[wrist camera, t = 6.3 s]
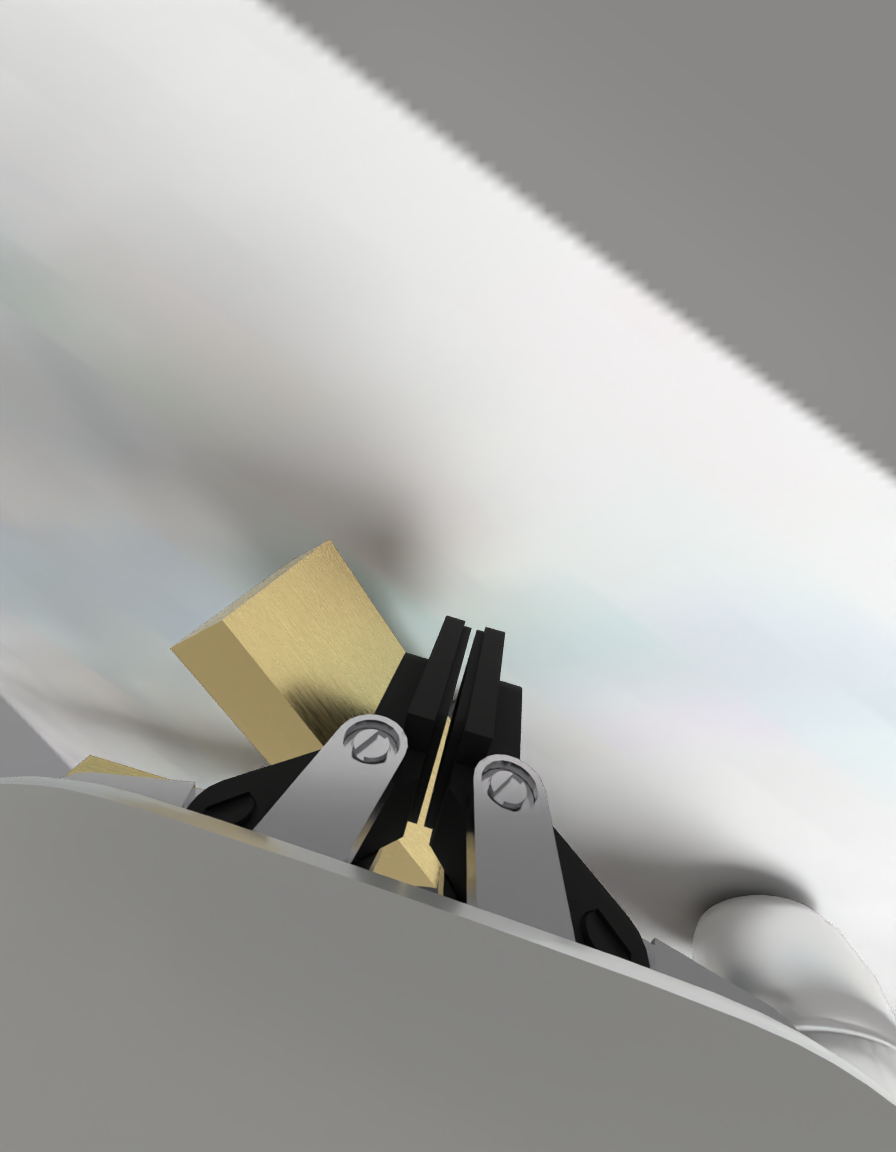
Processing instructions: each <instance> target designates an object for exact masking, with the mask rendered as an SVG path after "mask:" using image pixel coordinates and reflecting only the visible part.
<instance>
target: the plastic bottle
mask: <svg viewBox="0 0 896 1152" xmlns="http://www.w3.org/2000/svg"><path fill="white" fill-rule="evenodd" d="M692 952H693V959H694V961H695V962H697V963H698V964H700V965H702V966H704V967H705V968H707V969H709V970H710V971H712V972H714V973H716V974H717V975H719V976H721V977H722V978H724V979H726V980H727V981H729V982H731V983H733V984H734V985H736V986H738V987H739V988H741V989H743V990H745V991H746V992H748V993H750V994H751V995H753V996H755V997H757V998H758V999H760V1000H762V1001H763V1002H765V1003H767V1004H768V1005H770V1006H771V1007H773V1008H774V1009H775V1010H777V1011H778V1012H779V1013H781V1014H782V1015H783V1016H784V1017H786V1018H787V1019H788V1020H789V1021H790V1022H791V1023H792V1025H793V1026H794V1027H795V1028H796V1029H797V1030H798V1031H799V1032H800V1033H801V1034H803V1035H805V1036H807V1037H808V1038H810V1039H811V1040H813V1041H815V1042H816V1043H818V1044H820V1045H821V1046H823V1047H824V1048H826V1049H828V1050H829V1051H831V1052H833V1053H834V1054H836V1055H837V1056H839V1057H841V1058H842V1059H844V1060H846V1061H847V1062H849V1063H850V1064H851V1065H853V1066H854V1067H855V1068H857V1069H858V1070H859V1071H861V1072H862V1073H864V1074H865V1075H866V1076H868V1077H869V1078H870V1079H872V1080H873V1081H874V1082H876V1083H877V1084H878V1085H880V1086H881V1087H882V1088H884V1089H885V1090H886V1091H888V1092H889V1093H890V1094H892V1095H893V1096H894V1097H896V1019H895V1017H894V1015H893V1013H892V1011H891V1008H890V1006H889V1004H888V1002H887V1000H886V998H885V996H884V994H883V992H882V990H881V988H880V986H879V984H878V981H877V979H876V977H875V976H874V975H873V973H872V972H871V971H870V969H869V968H868V967H867V965H866V964H865V963H864V962H863V960H862V959H861V958H860V956H859V955H858V954H857V952H856V951H855V950H854V949H853V947H852V946H851V945H850V943H849V942H848V941H847V939H846V938H845V937H844V936H843V934H842V933H841V932H840V931H839V929H837V928H836V927H835V926H833V925H832V924H831V923H830V922H828V921H827V920H825V919H824V918H823V917H821V916H820V915H819V914H817V913H816V912H814V911H813V910H812V909H810V908H809V907H807V906H805V905H803V904H801V903H799V902H796V901H793V900H790V899H787V898H782V897H777V896H768V895H748V896H741V897H735V898H732V899H728V900H725V901H722V902H720V903H718V904H716V905H714V906H712V907H711V908H709V909H708V910H707V911H706V912H705V913H704V914H703V915H702V916H701V917H700V919H699V921H698V923H697V927H696V930H695V934H694V937H693V942H692Z"/></svg>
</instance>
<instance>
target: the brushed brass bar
mask: <svg viewBox="0 0 896 1152" xmlns="http://www.w3.org/2000/svg"><path fill="white" fill-rule="evenodd" d="M170 649H171V650H172V651H173V652H174V653H175V655H176V656H177V657H178V658H179V659H180V660H181V662H182V663H183V664H184V665H185V666H186V667H187V669H188V670H189V671H190V672H191V673H192V674H193V676H194V677H195V678H196V679H197V680H198V681H199V682H200V684H201V685H202V686H203V687H204V688H205V689H206V691H207V692H208V693H209V694H210V695H211V696H212V698H213V699H214V700H215V701H216V702H217V703H218V705H219V706H220V707H221V708H222V709H223V710H224V712H225V713H226V714H227V715H228V716H229V717H230V718H231V720H232V721H233V722H234V723H235V724H236V725H237V727H238V728H239V729H240V730H241V731H242V732H243V734H244V735H245V736H246V737H247V738H248V739H249V741H250V742H251V743H252V744H253V745H254V746H255V748H256V749H257V750H258V751H259V752H260V753H261V754H262V756H263V757H264V758H265V759H266V760H267V761H268V763H269V764H270V765H273V764H276V763H280V762H283V761H286V760H289V759H292V758H295V757H298V756H301V755H305V754H308V753H311V752H314V751H317V750H320V749H322V748H323V747H324V745H325V744H326V743H327V742H328V741H329V740H330V738H331V737H332V736H333V735H334V734H335V732H336V731H337V730H338V729H339V728H340V727H341V726H342V725H343V724H344V723H345V722H346V721H348V720H349V719H352V718H354V717H356V716H360V715H366V714H372V715H374V713H375V711H376V709H377V707H378V705H379V703H380V701H381V699H382V697H383V695H384V693H385V691H386V689H387V687H388V685H389V683H390V681H391V679H392V677H393V675H394V673H395V671H396V669H397V667H398V665H399V663H400V662H401V660H402V658H403V656H404V654H405V653H406V652H405V651H404V649H403V648H402V646H401V645H400V643H399V642H398V640H397V639H396V637H395V636H394V634H393V633H392V631H391V630H390V628H389V627H388V625H387V624H386V622H385V621H384V619H383V618H382V616H381V615H380V613H379V612H378V611H377V609H376V608H375V606H374V605H373V603H372V602H371V600H370V599H369V597H368V596H367V594H366V593H365V591H364V590H363V588H362V587H361V585H360V584H359V582H358V581H357V579H356V578H355V576H354V575H353V573H352V572H351V570H350V569H349V567H348V566H347V564H346V563H345V561H344V560H343V558H342V557H341V555H340V554H339V552H338V551H337V549H336V548H335V546H334V545H333V543H332V542H331V540H330V539H329V540H327V541H325V542H324V543H322V544H320V545H318V546H317V547H315V548H313V549H311V550H310V551H308V552H306V553H304V554H303V555H301V556H299V557H297V558H295V559H294V560H292V561H290V562H289V563H288V564H286V565H285V566H283V567H282V568H281V569H279V570H278V571H276V572H275V573H274V574H272V575H271V576H270V577H268V578H267V579H265V580H264V581H263V582H261V583H260V584H258V585H257V586H256V587H254V588H253V589H252V590H250V591H249V592H247V593H246V594H245V595H243V596H242V597H240V598H239V599H238V600H236V601H235V602H234V603H232V604H231V605H229V606H228V607H227V608H225V609H224V610H222V611H221V612H220V613H218V614H217V615H216V616H214V617H213V618H211V619H210V620H209V621H207V622H206V623H204V624H203V625H202V626H200V627H199V628H198V629H196V630H195V631H193V632H192V633H191V634H189V635H188V636H186V637H185V638H184V639H182V640H181V641H180V642H178V643H177V644H175V645H174V646H173V647H171V648H170ZM455 703H456V700H455V701H453V702H451V706H450V710H449V714H448V717H447V721H446V725H445V728H444V732H443V735H442V739H441V742H440V746H439V749H438V753H437V756H436V760H435V763H434V767H433V770H432V774H431V777H430V781H429V784H428V787H427V791H426V794H425V798H424V801H423V805H422V808H421V812H420V815H419V819H418V822H417V824H415V823H412V822H409V821H408V822H407V826H406V829H405V833H404V836H403V837H402V838H400V839H398V840H396V841H394V842H392V843H390V844H388V845H386V846H384V847H383V849H382V852H381V855H380V858H379V860H378V862H377V864H376V866H375V868H374V870H373V872H375V873H378V874H381V875H384V876H387V877H390V878H393V879H395V880H398V881H401V882H404V883H407V884H410V885H413V886H416V887H419V888H422V889H425V890H427V891H430V892H433V893H436V894H438V884H439V874H440V869H441V864H440V862H439V860H438V859H437V857H436V855H435V853H434V852H433V850H432V848H431V846H429V842H430V838H431V833H432V829H430V828H427V827H424V823H425V819H426V815H427V811H428V807H429V803H430V799H431V795H432V792H433V788H434V784H435V780H436V776H437V772H438V768H439V764H440V760H441V756H442V752H443V748H444V744H445V741H446V737H447V733H448V729H449V725H450V721H451V717H452V713H453V710H454V706H455Z"/></svg>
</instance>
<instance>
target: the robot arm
mask: <svg viewBox="0 0 896 1152" xmlns="http://www.w3.org/2000/svg"><path fill="white" fill-rule="evenodd" d="M464 624H465V621H464V620H460V619H457V618H453V617H450V616H446V618H445V620H444V623H443V625H442V628H441V630H440V633H439V635H438V638H437V640H436V643H435V645H434V648H433V650H432V653H431V655H430V658H429V659H426V658H422V657H419V656H416V655H412V654H409V653H405V654H404V656H403V658H402V660H401V662H400V663H399V665H398V667H397V669H396V671H395V673H394V675H393V677H392V679H391V681H390V683H389V685H388V687H387V689H386V691H385V693H384V695H383V697H382V699H381V701H380V703H379V705H378V707H377V709H376V711H375V713H374V715H372V714H366V715H360V716H356V717H354V718H352V719H349V720H348V721H346V722H345V723H344V724H343V725H342V726H341V727H340V728H339V729H338V730H337V731H336V732H335V734H334V735H333V736H332V737H331V738H330V740H329V741H328V742H327V743H326V744H325V745H324V747H323V748H322V749H320V750H317V751H314V752H311V753H308V754H305V755H301V756H298V757H295V758H292V759H289V760H286V761H283V762H280V763H276V764H273V765H270V766H267V767H264V768H261V769H258V770H255V771H251V772H248V773H245V774H242V775H239V776H236V777H233V778H230V779H226V780H223V781H221V782H219V783H216V784H214V785H212V786H210V787H208V788H207V789H196V788H195V782H187V781H177V780H167V779H157V778H146V777H136V776H126V775H116V774H105V773H95V772H85V773H74V774H71V775H67V776H64V777H61V778H47V777H32V776H26V777H0V1152H896V1097H894V1096H893V1095H892V1094H890V1093H889V1092H888V1091H886V1090H885V1089H884V1088H882V1087H881V1086H880V1085H878V1084H877V1083H876V1082H874V1081H873V1080H872V1079H870V1078H869V1077H868V1076H866V1075H865V1074H864V1073H862V1072H861V1071H859V1070H858V1069H857V1068H855V1067H854V1066H853V1065H851V1064H850V1063H849V1062H847V1061H846V1060H844V1059H842V1058H841V1057H839V1056H837V1055H836V1054H834V1053H833V1052H831V1051H829V1050H828V1049H826V1048H824V1047H823V1046H821V1045H820V1044H818V1043H816V1042H815V1041H813V1040H811V1039H810V1038H808V1037H807V1036H805V1035H803V1034H801V1033H800V1032H799V1031H798V1030H797V1029H796V1028H795V1027H794V1026H793V1025H792V1023H791V1022H790V1021H789V1020H788V1019H787V1018H786V1017H784V1016H783V1015H782V1014H781V1013H779V1012H778V1011H777V1010H775V1009H774V1008H773V1007H771V1006H770V1005H768V1004H767V1003H765V1002H763V1001H762V1000H760V999H758V998H757V997H755V996H753V995H751V994H750V993H748V992H746V991H745V990H743V989H741V988H739V987H738V986H736V985H734V984H733V983H731V982H729V981H727V980H726V979H724V978H722V977H721V976H719V975H717V974H716V973H714V972H712V971H710V970H709V969H707V968H705V967H704V966H702V965H700V964H698V963H697V962H695V961H693V960H692V959H690V958H688V957H687V956H685V955H683V954H681V953H680V952H678V951H676V950H675V949H673V948H671V947H669V946H668V945H666V944H664V943H663V942H661V941H659V940H658V939H656V938H654V939H653V941H652V942H651V943H650V942H648V941H646V940H644V939H643V938H641V936H640V933H639V932H638V930H637V929H636V927H635V926H634V924H633V923H632V921H631V920H630V918H629V917H628V916H627V915H626V913H625V912H624V911H623V910H622V909H621V907H620V906H619V905H618V904H617V903H616V901H615V900H614V899H613V898H612V897H611V895H610V894H609V893H608V892H607V891H606V889H605V888H604V887H603V886H602V885H601V883H600V882H599V881H598V880H597V879H596V877H595V876H594V875H593V874H592V873H591V871H590V870H589V869H588V868H587V867H586V865H585V864H584V863H583V862H582V861H581V859H580V858H579V857H578V856H577V855H576V853H575V852H574V851H573V850H572V849H571V847H570V846H569V845H568V844H567V843H566V841H565V840H564V839H563V838H562V837H561V835H560V834H559V833H558V832H557V831H556V829H555V828H554V827H553V826H552V821H551V816H550V812H549V807H548V802H547V797H546V792H545V789H544V786H543V783H542V781H541V779H540V778H539V776H538V775H537V774H536V772H535V771H534V770H533V769H532V768H531V767H529V766H528V765H527V764H526V763H524V762H522V761H521V760H520V741H521V711H522V688H521V687H520V686H516V685H513V684H510V683H506V682H503V681H500V673H501V664H502V656H503V647H504V638H505V632H502V631H498V630H495V629H491V628H488V627H486V628H485V630H484V632H483V631H480V630H477V631H476V634H475V638H474V641H473V644H472V648H471V651H470V655H469V658H468V662H467V665H466V668H465V672H464V675H463V679H462V682H461V686H460V689H459V692H458V696H457V699H456V703H455V706H454V710H453V713H452V717H451V721H450V725H449V729H448V733H447V737H446V741H445V744H444V748H443V752H442V756H441V760H440V764H439V768H438V772H437V776H436V780H435V784H434V788H433V792H432V795H431V799H430V803H429V807H428V811H427V815H426V819H425V823H424V827H427V828H430V829H432V833H431V838H430V842H429V846H431V848H432V850H433V852H434V853H435V855H436V857H437V859H438V860H439V862H440V864H441V869H440V874H439V884H438V894H436V893H433V892H430V891H427V890H425V889H422V888H419V887H416V886H413V885H410V884H407V883H404V882H401V881H398V880H395V879H393V878H390V877H387V876H384V875H381V874H378V873H375V872H373V870H374V868H375V866H376V864H377V862H378V860H379V858H380V855H381V852H382V849H383V847H384V846H386V845H388V844H390V843H392V842H394V841H396V840H398V839H400V838H402V837H403V836H404V833H405V829H406V826H407V822H408V821H409V822H412V823H415V824H417V822H418V819H419V815H420V812H421V808H422V805H423V801H424V798H425V794H426V791H427V787H428V784H429V781H430V777H431V774H432V770H433V767H434V763H435V760H436V756H437V753H438V749H439V746H440V742H441V739H442V735H443V732H444V728H445V725H446V721H447V717H448V714H449V710H450V706H451V702H452V699H453V695H454V691H455V688H456V684H457V680H458V676H459V673H460V669H461V665H462V662H463V658H464V654H465V650H466V647H467V643H468V639H469V635H470V632H471V628H469V627H466V626H464Z"/></svg>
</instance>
